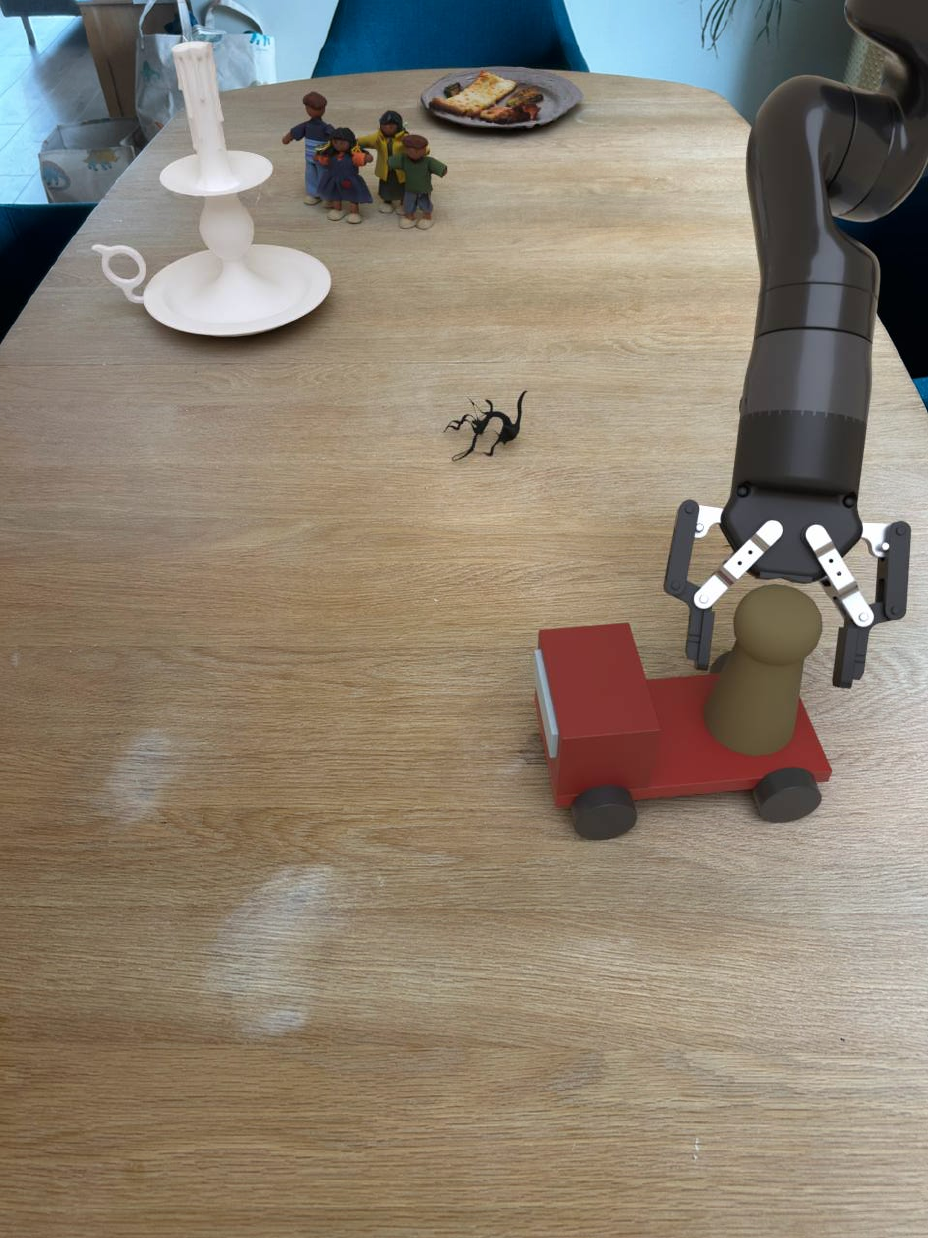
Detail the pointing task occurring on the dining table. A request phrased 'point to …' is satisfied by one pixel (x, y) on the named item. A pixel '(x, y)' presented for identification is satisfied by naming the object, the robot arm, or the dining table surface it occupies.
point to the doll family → (340, 158)
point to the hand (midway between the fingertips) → (770, 678)
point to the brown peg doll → (763, 671)
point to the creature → (506, 434)
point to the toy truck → (650, 736)
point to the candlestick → (221, 232)
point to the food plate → (501, 97)
